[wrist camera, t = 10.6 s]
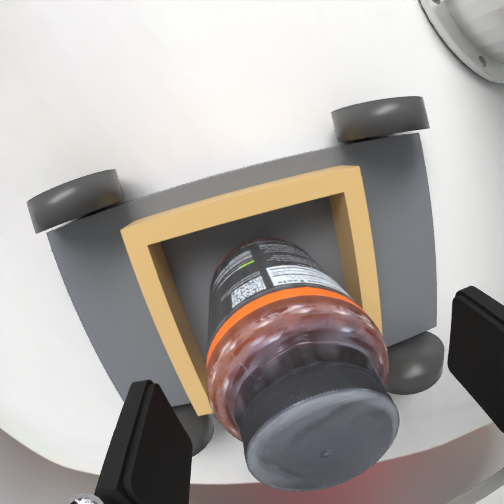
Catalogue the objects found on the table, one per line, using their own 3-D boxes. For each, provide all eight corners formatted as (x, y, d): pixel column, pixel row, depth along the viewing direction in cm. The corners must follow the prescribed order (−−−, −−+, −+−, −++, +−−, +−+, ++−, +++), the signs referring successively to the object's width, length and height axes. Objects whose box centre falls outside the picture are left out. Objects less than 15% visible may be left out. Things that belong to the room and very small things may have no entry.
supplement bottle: (284, 350, 18) (340, 515, 8) (191, 310, 17) (165, 488, 6) (338, 264, 17) (468, 389, 7) (242, 213, 16) (287, 314, 5)
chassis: (399, 106, 17) (448, 93, 12) (425, 337, 21) (461, 371, 16) (49, 199, 16) (2, 212, 12) (144, 416, 21) (133, 465, 16)
